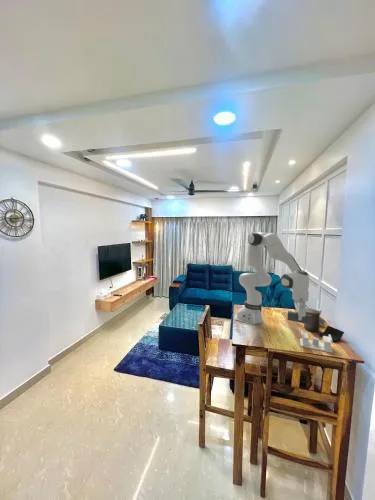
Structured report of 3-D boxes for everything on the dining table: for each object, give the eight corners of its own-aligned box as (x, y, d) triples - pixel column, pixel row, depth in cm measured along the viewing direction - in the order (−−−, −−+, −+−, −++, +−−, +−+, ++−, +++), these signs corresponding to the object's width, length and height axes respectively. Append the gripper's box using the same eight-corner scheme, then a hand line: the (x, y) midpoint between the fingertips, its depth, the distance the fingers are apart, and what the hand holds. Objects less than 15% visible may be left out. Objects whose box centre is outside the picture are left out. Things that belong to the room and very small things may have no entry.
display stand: (300, 346, 136) (301, 335, 135) (299, 339, 145) (300, 328, 144) (332, 353, 129) (333, 341, 128) (329, 345, 138) (330, 333, 137)
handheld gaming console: (319, 337, 151) (318, 333, 151) (328, 329, 155) (328, 325, 154) (335, 344, 142) (334, 340, 141) (345, 336, 145) (344, 331, 144)
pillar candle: (320, 332, 155) (322, 312, 154) (306, 331, 157) (307, 311, 156) (315, 326, 165) (316, 307, 164) (301, 325, 167) (302, 306, 166)
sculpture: (294, 312, 195) (295, 301, 194) (318, 314, 190) (318, 303, 189) (301, 323, 171) (301, 311, 170) (328, 326, 166) (329, 314, 165)
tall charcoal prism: (287, 320, 138) (287, 312, 138) (287, 318, 140) (288, 310, 140) (311, 324, 132) (311, 316, 131) (310, 322, 134) (311, 314, 134)
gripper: (309, 302, 124) (307, 325, 125) (303, 293, 143) (302, 313, 144) (296, 301, 126) (295, 324, 127) (292, 292, 145) (292, 312, 146)
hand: (299, 318), depth 136 cm, fingers closed on tall charcoal prism, 3 cm apart
